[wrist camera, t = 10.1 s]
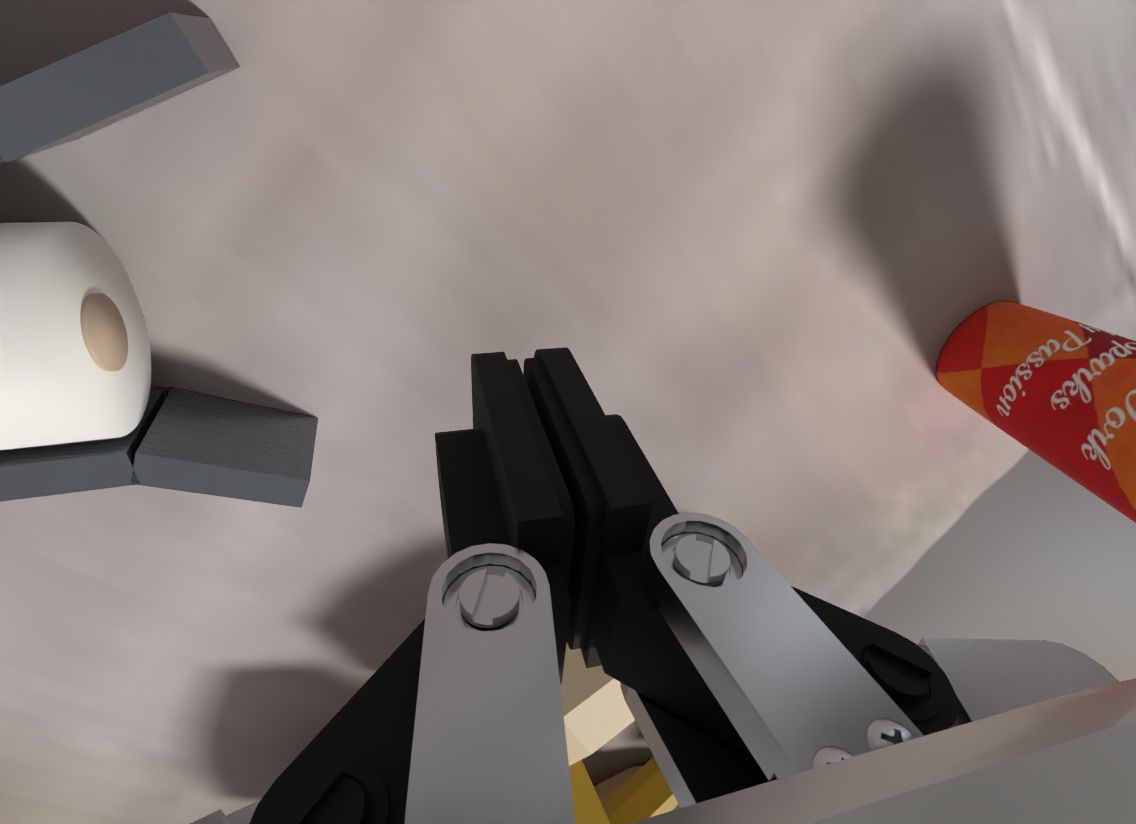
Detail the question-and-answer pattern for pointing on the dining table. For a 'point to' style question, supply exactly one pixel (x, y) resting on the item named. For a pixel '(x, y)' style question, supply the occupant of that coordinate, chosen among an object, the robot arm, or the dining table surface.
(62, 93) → the holder
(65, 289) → the roll
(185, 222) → the dining table surface
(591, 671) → the campfire
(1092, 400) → the paper cup
